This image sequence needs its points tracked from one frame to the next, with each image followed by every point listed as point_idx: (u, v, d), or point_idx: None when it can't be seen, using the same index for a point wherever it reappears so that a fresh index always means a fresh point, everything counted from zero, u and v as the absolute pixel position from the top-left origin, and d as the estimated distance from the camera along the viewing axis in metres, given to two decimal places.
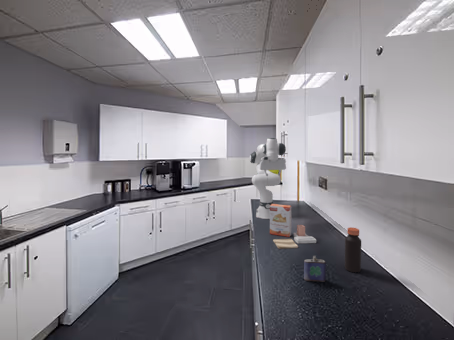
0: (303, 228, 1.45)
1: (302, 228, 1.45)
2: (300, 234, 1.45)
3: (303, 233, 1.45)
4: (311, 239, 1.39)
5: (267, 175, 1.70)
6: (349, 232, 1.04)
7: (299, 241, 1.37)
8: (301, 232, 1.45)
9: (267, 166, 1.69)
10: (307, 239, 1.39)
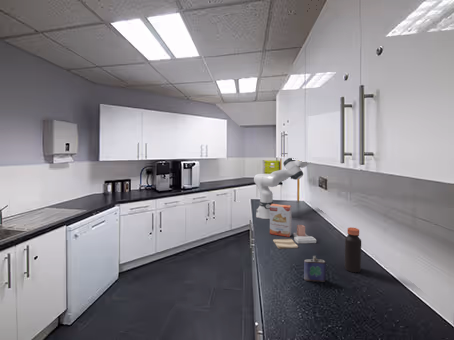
0: (303, 228, 1.45)
1: (302, 228, 1.45)
2: (300, 234, 1.45)
3: (303, 233, 1.45)
4: (311, 239, 1.39)
5: None
6: (349, 232, 1.04)
7: (299, 241, 1.37)
8: (301, 232, 1.45)
9: None
10: (307, 239, 1.39)
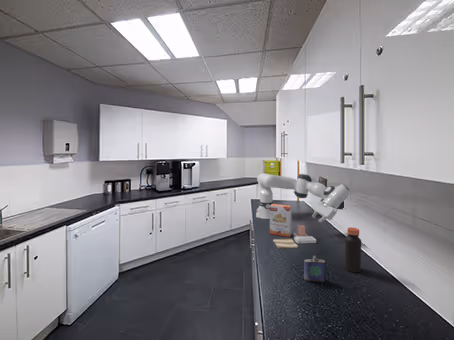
0: (303, 228, 1.45)
1: (302, 228, 1.45)
2: (300, 234, 1.45)
3: (303, 233, 1.45)
4: (311, 239, 1.39)
5: (312, 216, 1.51)
6: (349, 232, 1.04)
7: (299, 241, 1.37)
8: (301, 232, 1.45)
9: (318, 208, 1.51)
10: (307, 239, 1.39)
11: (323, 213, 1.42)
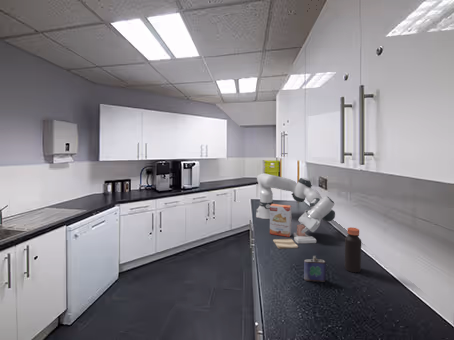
0: (303, 228, 1.45)
1: (302, 228, 1.45)
2: (300, 234, 1.45)
3: (303, 233, 1.45)
4: (311, 239, 1.39)
5: None
6: (349, 232, 1.04)
7: (299, 241, 1.37)
8: (301, 232, 1.45)
9: (303, 219, 1.51)
10: (307, 239, 1.39)
11: (307, 225, 1.42)
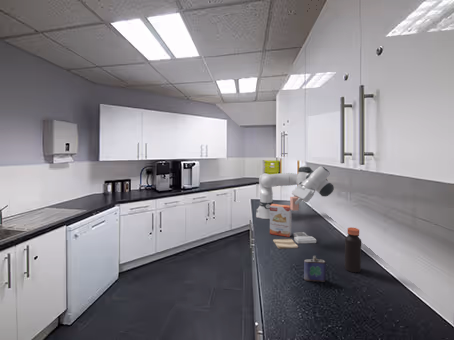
0: (297, 199, 1.37)
1: (296, 199, 1.37)
2: (293, 206, 1.37)
3: (297, 205, 1.37)
4: (311, 239, 1.39)
5: None
6: (349, 232, 1.04)
7: (299, 241, 1.37)
8: None
9: (296, 191, 1.43)
10: (307, 239, 1.39)
11: (300, 195, 1.34)
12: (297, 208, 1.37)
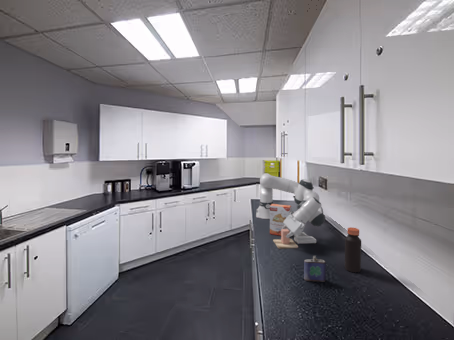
0: (287, 233, 1.34)
1: (286, 232, 1.34)
2: (284, 239, 1.35)
3: (287, 238, 1.35)
4: (311, 239, 1.39)
5: None
6: (349, 232, 1.04)
7: (299, 241, 1.37)
8: (285, 237, 1.35)
9: (287, 221, 1.41)
10: (307, 239, 1.39)
11: (291, 228, 1.31)
12: (288, 241, 1.35)
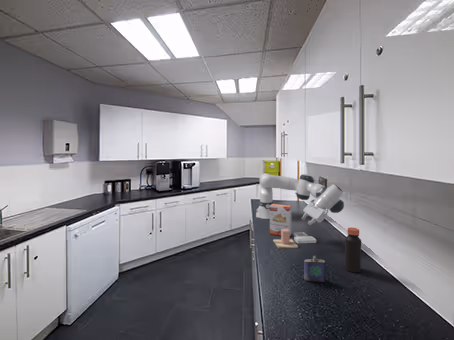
0: (287, 233, 1.34)
1: (286, 232, 1.34)
2: (284, 239, 1.35)
3: (287, 238, 1.35)
4: (311, 239, 1.39)
5: (302, 218, 1.41)
6: (349, 232, 1.04)
7: (299, 241, 1.37)
8: (285, 237, 1.35)
9: (308, 209, 1.41)
10: (307, 239, 1.39)
11: (313, 215, 1.32)
12: (288, 241, 1.35)
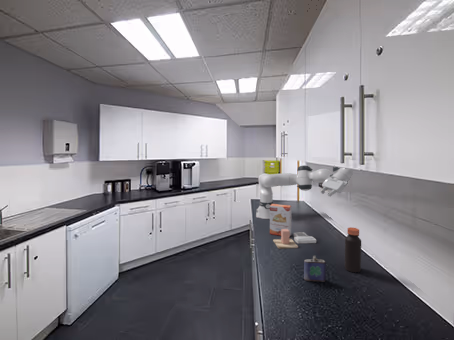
0: (287, 233, 1.34)
1: (286, 232, 1.34)
2: (284, 239, 1.35)
3: (287, 238, 1.35)
4: (311, 239, 1.39)
5: (321, 192, 1.48)
6: (349, 232, 1.04)
7: (299, 241, 1.37)
8: (285, 237, 1.35)
9: (327, 183, 1.48)
10: (307, 239, 1.39)
11: (333, 187, 1.39)
12: (288, 241, 1.35)
